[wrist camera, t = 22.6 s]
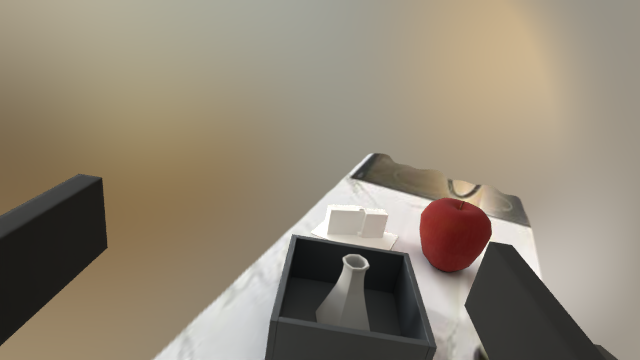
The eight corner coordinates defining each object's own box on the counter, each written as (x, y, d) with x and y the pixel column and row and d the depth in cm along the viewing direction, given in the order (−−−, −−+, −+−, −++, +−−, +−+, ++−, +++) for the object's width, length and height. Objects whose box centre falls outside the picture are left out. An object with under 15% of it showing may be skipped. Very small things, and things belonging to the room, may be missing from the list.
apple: (479, 262, 69) (502, 201, 64) (470, 294, 60) (498, 224, 55) (418, 239, 74) (436, 180, 69) (401, 265, 65) (421, 198, 60)
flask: (306, 310, 49) (317, 248, 46) (350, 300, 53) (364, 241, 49) (330, 351, 43) (345, 285, 40) (379, 337, 47) (397, 274, 43)
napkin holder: (309, 233, 70) (314, 207, 68) (333, 212, 80) (337, 189, 78) (383, 261, 65) (390, 234, 63) (398, 235, 74) (405, 211, 72)
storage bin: (263, 374, 40) (270, 320, 37) (285, 276, 57) (292, 234, 54) (418, 399, 40) (437, 347, 37) (396, 294, 57) (408, 253, 54)
